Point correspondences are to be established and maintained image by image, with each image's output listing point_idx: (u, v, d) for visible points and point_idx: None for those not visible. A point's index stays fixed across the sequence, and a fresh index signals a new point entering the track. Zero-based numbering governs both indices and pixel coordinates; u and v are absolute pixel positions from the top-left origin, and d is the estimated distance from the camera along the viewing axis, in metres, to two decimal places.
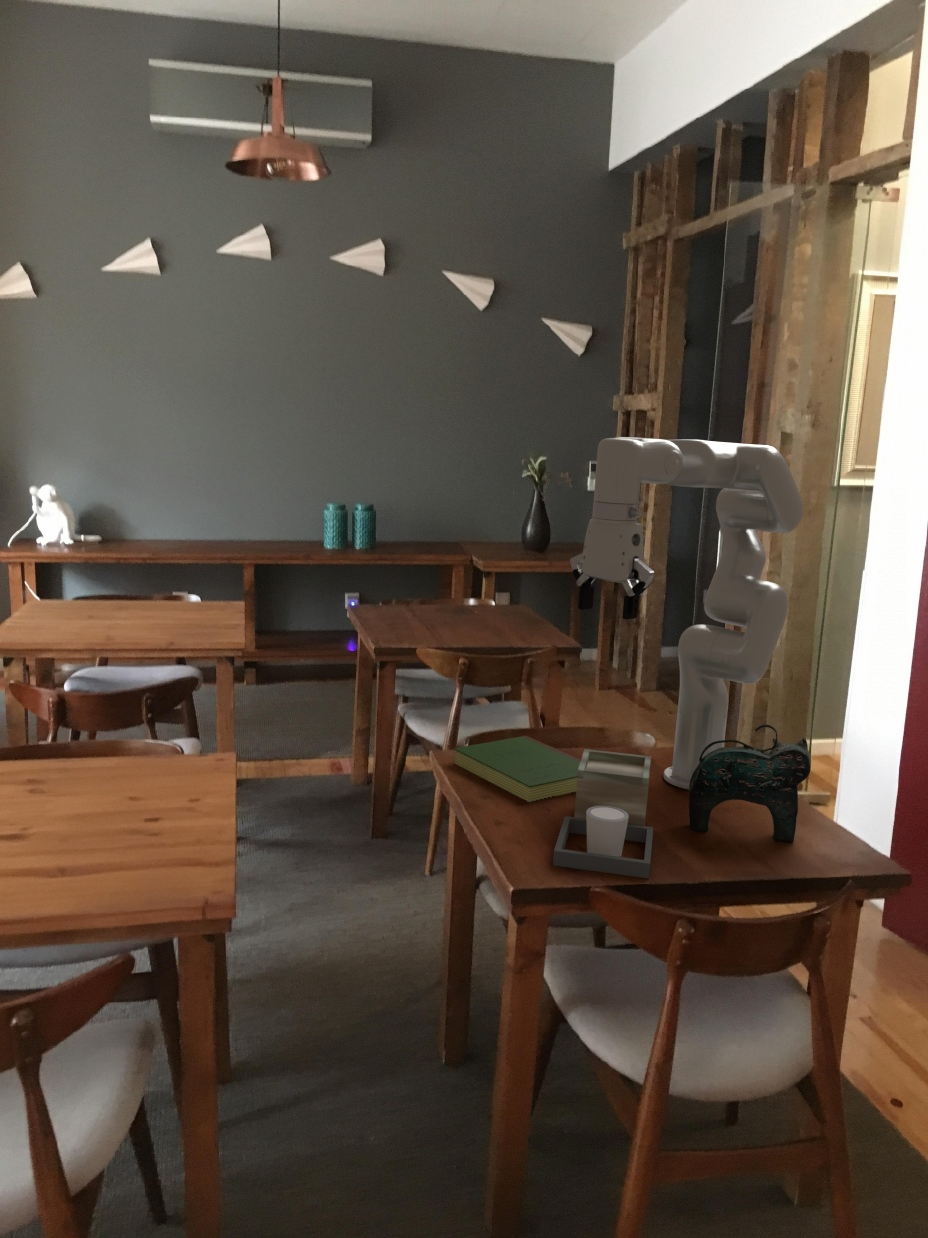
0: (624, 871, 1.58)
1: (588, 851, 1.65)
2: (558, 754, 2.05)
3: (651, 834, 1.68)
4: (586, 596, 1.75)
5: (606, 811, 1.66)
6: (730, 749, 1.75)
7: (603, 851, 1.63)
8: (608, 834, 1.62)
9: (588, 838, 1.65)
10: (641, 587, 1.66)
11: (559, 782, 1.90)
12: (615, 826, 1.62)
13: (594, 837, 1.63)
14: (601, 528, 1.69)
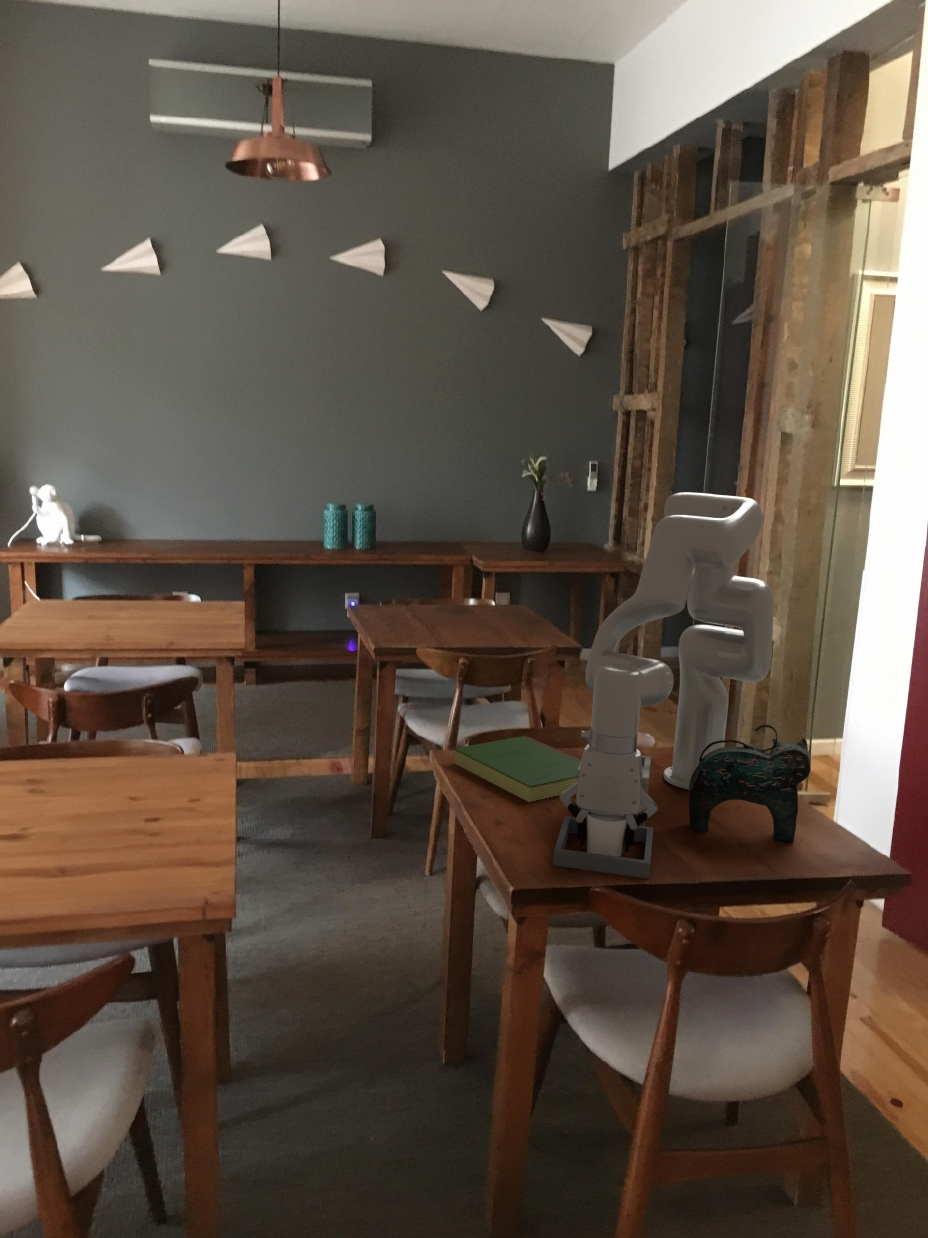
0: (624, 871, 1.58)
1: (588, 851, 1.65)
2: (558, 754, 2.05)
3: (651, 834, 1.68)
4: None
5: None
6: (730, 749, 1.75)
7: (603, 851, 1.63)
8: (608, 834, 1.62)
9: (588, 838, 1.65)
10: None
11: (559, 782, 1.90)
12: (615, 826, 1.62)
13: (594, 837, 1.63)
14: None
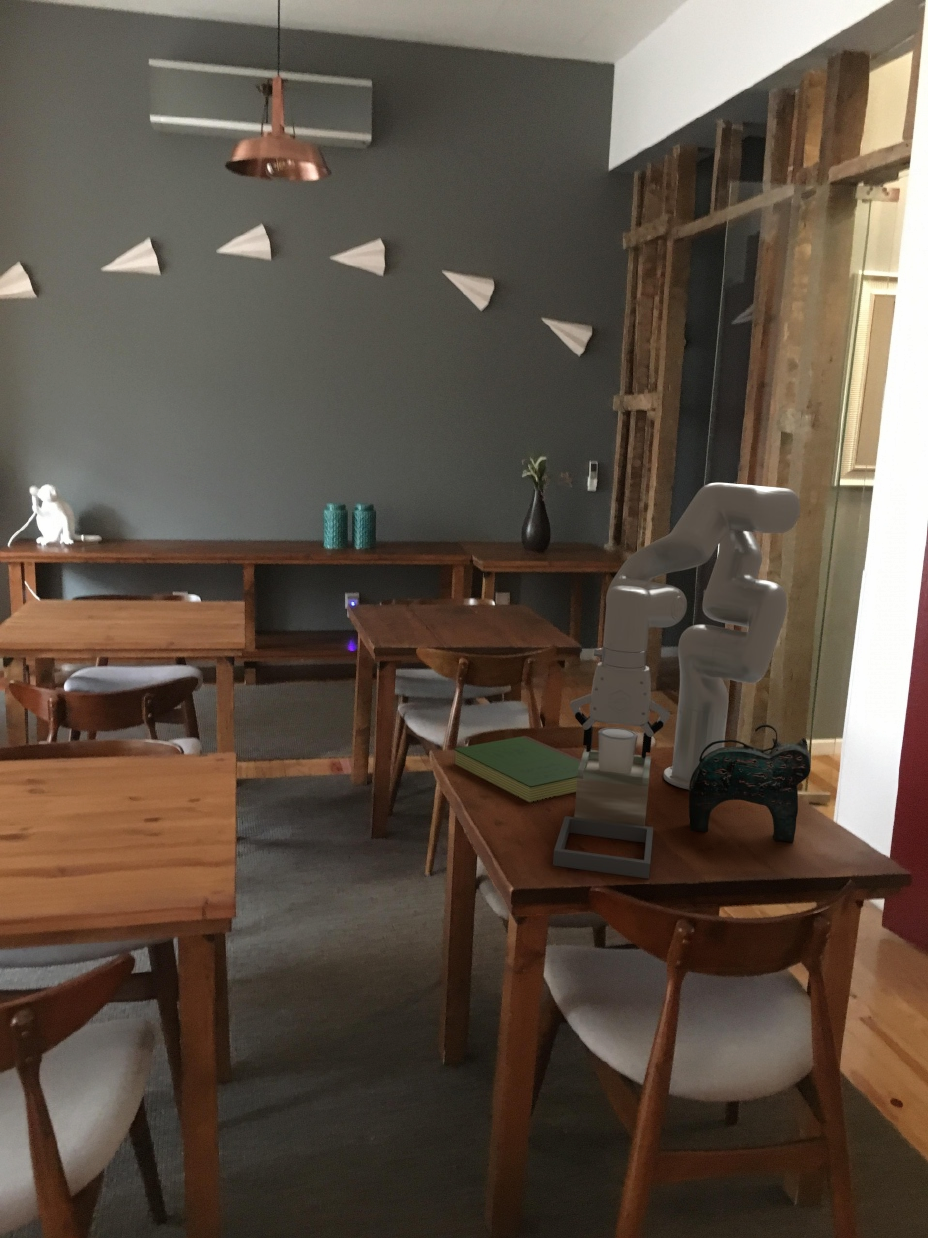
0: (624, 871, 1.58)
1: (600, 768, 1.78)
2: (558, 754, 2.05)
3: (651, 834, 1.68)
4: None
5: (616, 731, 1.78)
6: (730, 749, 1.75)
7: (614, 767, 1.76)
8: (619, 751, 1.75)
9: (600, 756, 1.78)
10: None
11: (559, 782, 1.90)
12: (625, 744, 1.75)
13: (606, 755, 1.76)
14: None
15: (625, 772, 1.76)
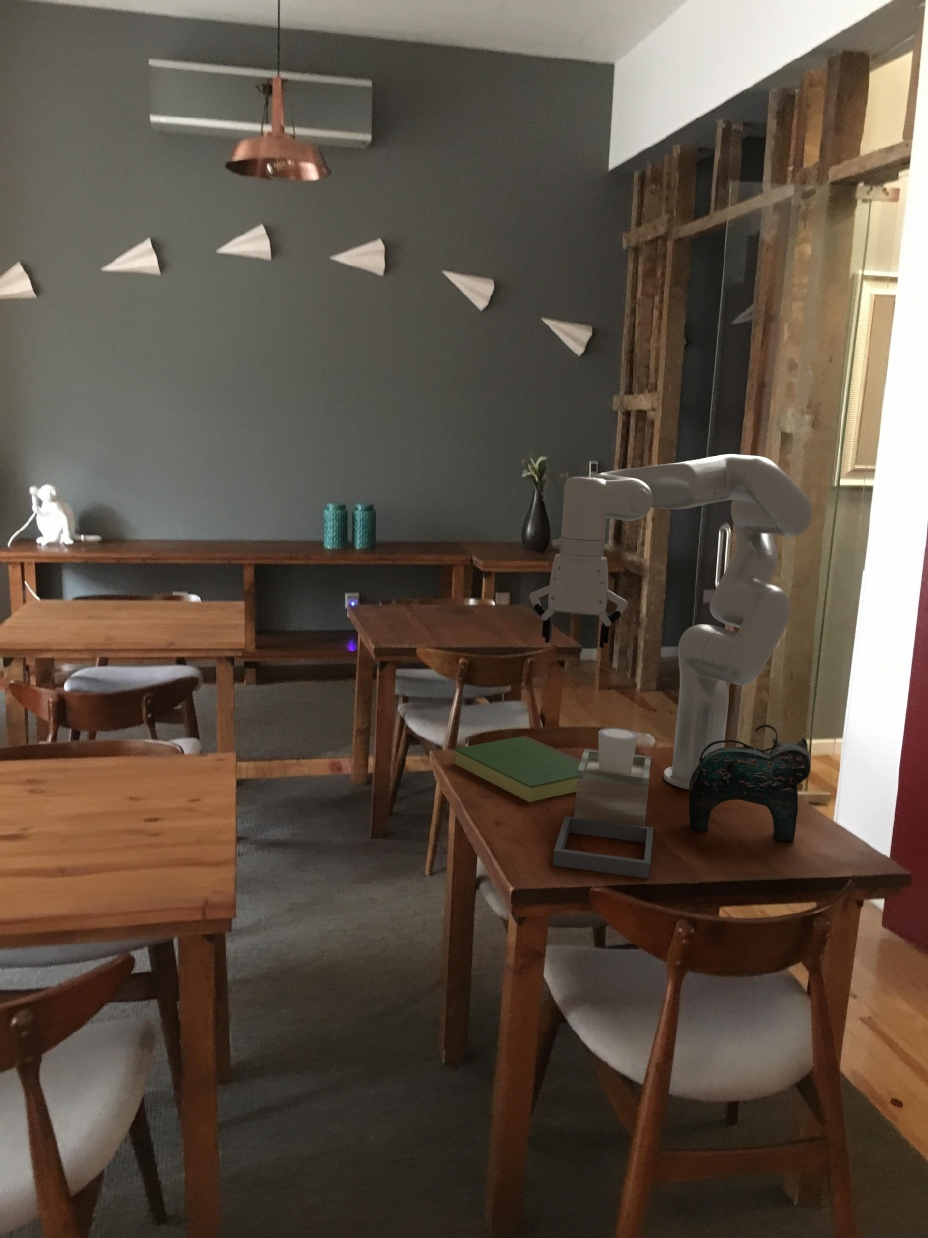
0: (624, 871, 1.58)
1: (600, 768, 1.78)
2: (558, 754, 2.05)
3: (651, 834, 1.68)
4: None
5: (617, 732, 1.79)
6: (730, 749, 1.75)
7: (614, 767, 1.76)
8: (619, 751, 1.75)
9: (600, 756, 1.78)
10: None
11: (560, 782, 1.90)
12: (625, 744, 1.75)
13: (606, 755, 1.76)
14: None
15: (625, 772, 1.76)
